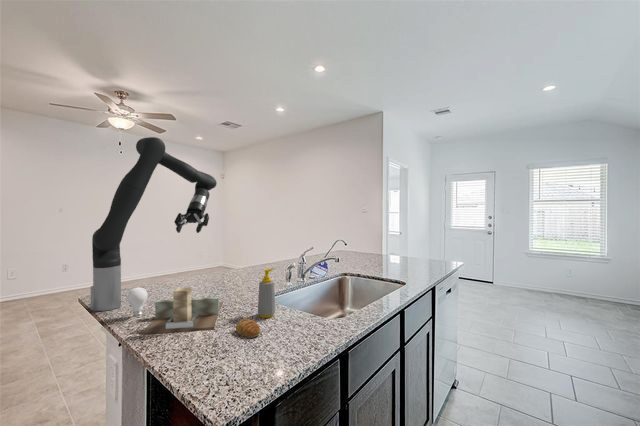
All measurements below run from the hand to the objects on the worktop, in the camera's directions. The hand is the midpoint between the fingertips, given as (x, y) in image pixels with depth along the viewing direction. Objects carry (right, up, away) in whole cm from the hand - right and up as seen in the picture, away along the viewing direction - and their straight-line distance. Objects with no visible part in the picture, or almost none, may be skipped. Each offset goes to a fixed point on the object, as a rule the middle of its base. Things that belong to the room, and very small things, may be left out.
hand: (187, 231), depth 129 cm
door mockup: (+10, -31, -20) cm, 38 cm away
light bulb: (-10, -31, -20) cm, 38 cm away
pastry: (+35, -32, -32) cm, 58 cm away
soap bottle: (+39, -32, -17) cm, 53 cm away
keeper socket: (+11, -31, -28) cm, 44 cm away
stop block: (+11, -30, -28) cm, 43 cm away
